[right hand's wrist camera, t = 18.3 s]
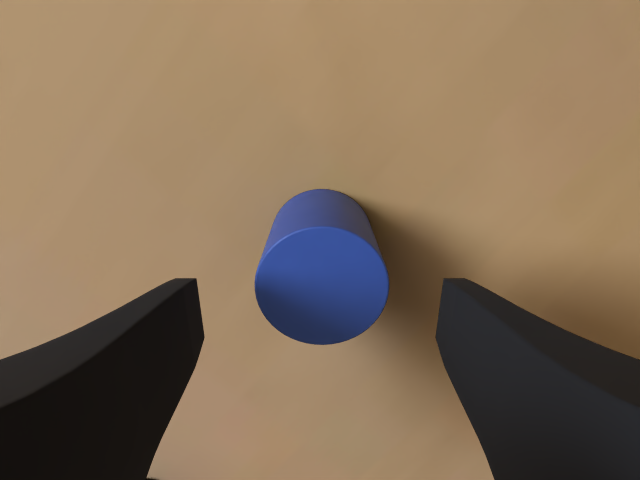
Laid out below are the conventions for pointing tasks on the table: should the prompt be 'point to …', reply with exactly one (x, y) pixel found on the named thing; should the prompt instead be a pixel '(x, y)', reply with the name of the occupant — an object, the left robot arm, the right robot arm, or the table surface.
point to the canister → (321, 270)
